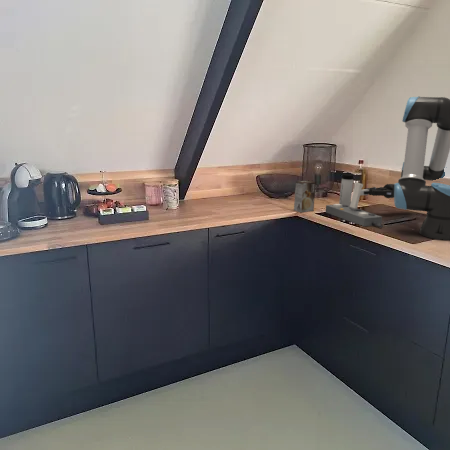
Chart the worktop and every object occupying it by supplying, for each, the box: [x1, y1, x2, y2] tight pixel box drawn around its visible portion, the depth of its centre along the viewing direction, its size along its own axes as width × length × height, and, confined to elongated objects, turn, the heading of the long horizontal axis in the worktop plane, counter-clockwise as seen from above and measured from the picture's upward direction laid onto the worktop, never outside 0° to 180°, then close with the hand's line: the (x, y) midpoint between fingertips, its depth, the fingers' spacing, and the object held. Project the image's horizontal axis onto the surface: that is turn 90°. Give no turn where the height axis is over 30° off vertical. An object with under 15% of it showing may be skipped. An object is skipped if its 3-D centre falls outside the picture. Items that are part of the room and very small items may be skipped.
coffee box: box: [293, 180, 316, 213], centre depth 230 cm, size 9×6×16 cm
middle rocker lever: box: [349, 182, 364, 211], centre depth 216 cm, size 4×2×14 cm, turn 24°
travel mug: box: [338, 171, 355, 206], centre depth 241 cm, size 6×7×20 cm
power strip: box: [325, 203, 384, 229], centre depth 216 cm, size 36×11×5 cm, turn 24°
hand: (357, 192), depth 217 cm, fingers closed
